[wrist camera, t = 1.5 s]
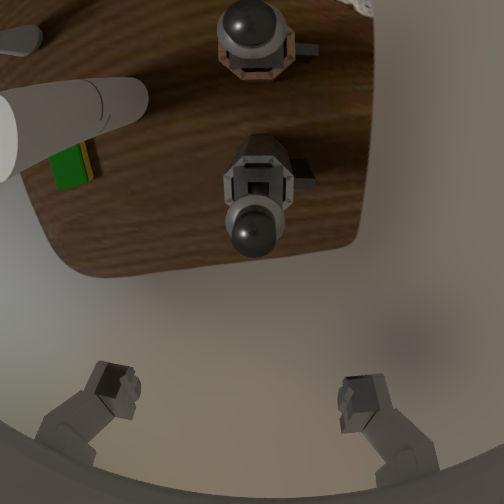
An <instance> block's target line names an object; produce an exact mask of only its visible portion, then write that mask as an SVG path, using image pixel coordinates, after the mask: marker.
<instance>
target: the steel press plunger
mask: <svg viewBox="0 0 504 504" xmlns="http://www.w3.org/2000/svg"><path fill="white" fill-rule="evenodd" d="M263 186H264V182H255V185H254V192H253V193H250V194H246V195H243V196H241V197H239V198H237V199H236V200H235V201H234V202H233V203H232V204H231V206H230V207H229V209H228V212H227V215H226V228H227V231H228V233H229V235H230V237H231V240H232V244H233V246H234V248H235V249H236V250H237V251H238V252H239V253H241V254H242V255H244V256H247V257H253V258H257V257H262V256H264V255H266V254H268V253H269V252H270V251H271V250H272V249H273V248H274V246H275V243H276V241H278V240H279V238H280V237H281V236H282V234H283V232H284V228H285V216H284V212H283V210H282V208H281V206H280V205H279V203H278V202H277V201H275V200H274V199H273V198H271V197H269V196H267V195H264V194H263Z"/></svg>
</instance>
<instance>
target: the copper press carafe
mask: <svg viewBox="0 0 504 504" xmlns="http://www.w3.org/2000/svg"><path fill="white" fill-rule="evenodd" d="M317 56H319V45H317V44H304V43H295V32H294V31H293V30H292V29H291V28H289V27H288V26H287V33H286V37H285V40H284V42H283V44H282V45H281V47H280V48H279V49H278V50H277V51H276V52H274V53H273V54H271V55H269V56H267V57H264V58H260V59H243V58H240V57H237V56H235V55H233V54H231V53H230V52H228V51H227V50H226V49H225V48H224V47H223V46H222V44H221V43H220V41H219V38H218V57H219V61H220V62H221V63H222V64H223V65H224V66H226V67H227V68H228V69H229V70H231V71H232V72H233V73H234V74H235V75H236V76H238V77H239V78H240V79H241V80H243V81H246V82H249V83H272V82H273V81H274V80H275V79H276V78H277V77H279V76H280V75H281V74H282V73H283V72H284V71H285V70H286V69H287V68H288V67H289V66H290V65H291V64H292V63H293V62H297V63H308V62H310V61H311V60H313V59H314V58H316V57H317Z"/></svg>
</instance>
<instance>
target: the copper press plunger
mask: <svg viewBox="0 0 504 504" xmlns="http://www.w3.org/2000/svg"><path fill="white" fill-rule="evenodd" d="M286 33H287V25H286V21H285V19H284V17H283V15H282V14H281V12H280V11H279V10H278V9H277V8H275V7H274V6H272V5H270V4H268V3H266V2H262V1H260V0H241V1H238V2H235V3H234V4H232V5H231V6H230V7H229V8H228V9H227V10H226V11H225V12H224V13H223V14H222V15H221V17H220V19H219V21H218V25H217V35H218V38H219V41H220V43H221V44H222V46H223V47H224V48H225V49H226V50H227V51H228V52H230V53H231V54H233V55H235V56H237V57H240V58H243V59H260V58H264V57H267V56H269V55H271V54H273V53H274V52H276V51H277V50H278V49H279V48H280V47H281V45H282V44H283V42H284V40H285V37H286Z"/></svg>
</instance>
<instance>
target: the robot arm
mask: <svg viewBox="0 0 504 504" xmlns="http://www.w3.org/2000/svg"><path fill="white" fill-rule="evenodd" d="M134 374H135V371H134V369H133V367H130V366H124V365H119V364H113V363H109V362H104V361H99V362H98V363H96V365H95V367H94V370H93V371H92V374H91V376H90V378H89V380H88V382H87V384H86V387H85V389H84V391H79V392H78V393H76V394H75V395H74V396H72V397H71V398H69V399H68V400H67V401H65V402H64V403H62V404H61V405H59V406H58V407H57V408H55V409H54V410H52V411H51V412H50V413H48V414H47V415H45V416H44V418H43V421H42V423H41V425H40V427H39V430H38V432H37V435H36V437H35V439H34V440H33V439H31V438H29V437H28V436H26V435H24V434H22V433H20V432H18V431H17V430H15V429H14V428H12V427H10V426H9V425H7V424H5V423H4V422H2V421H0V504H504V444H502V445H499V446H497V447H495V448H493V449H491V450H489V451H487V452H485V453H483V454H480V455H478V456H476V457H474V458H471V459H469V460H467V461H464V462H462V463H459V464H457V465H454V466H452V467H449V468H446V469H443V470H441V471H440V469H439V465H438V461H437V456H436V452H435V448H434V444H433V442H432V441H431V440H430V439H429V438H428V437H427V436H426V435H425V434H424V433H422V432H421V431H420V430H419V429H418V428H417V427H416V426H415V425H414V424H413V423H412V422H411V421H409V420H408V419H407V418H406V417H405V416H404V415H403V414H402V413H401V412H400V411H399V410H398V409H393V406H392V402H391V399H390V395H389V391H388V387H387V384H386V381H385V377H384V375H383V374H372V375H361V376H351V377H345V378H344V379H343V382H342V383H343V386H342V387H341V388H340V389H339V392H338V410H339V411H340V412H341V413H342V416H341V418H340V426H341V433H353V432H362V434H363V435H364V436H365V437H366V438H367V440H368V441H369V442H370V443H371V445H372V446H373V447H374V448H375V449H376V451H377V452H378V453H379V455H380V456H381V457H382V458H383V459H384V460H385V462H386V464H385V465H383V466H382V467H381V468H380V469H378V471H377V472H376V473H375V475H376V483H377V488H374V489H369V490H364V491H357V492H351V493H344V494H336V495H328V496H318V497H317V496H316V497H300V498H247V497H232V496H220V495H212V494H203V493H197V492H190V491H183V490H178V489H173V488H168V487H163V486H158V485H154V484H150V483H146V482H142V481H138V480H134V479H131V478H127V477H124V476H120V475H118V474H114V473H111V472H108V471H105V470H102V469H99V468H97V467H94V466H93V462H94V459H95V455H96V451H95V449H93V448H92V447H91V446H90V445H89V444H87V443H88V442H89V441H90V440H92V439H93V438H94V437H95V436H96V435H97V434H98V433H99V432H100V431H101V430H102V429H103V428H104V427H105V426H106V425H107V424H108V423H109V422H111V421H112V420H113V419H114V417H118V418H123V419H128V420H132V418H133V415H134V412H135V409H136V406H135V403H134V402H135V401H136V400H138V399H139V397H140V394H141V383H140V380H139V378H138V377H136V376H135V375H134Z"/></svg>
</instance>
